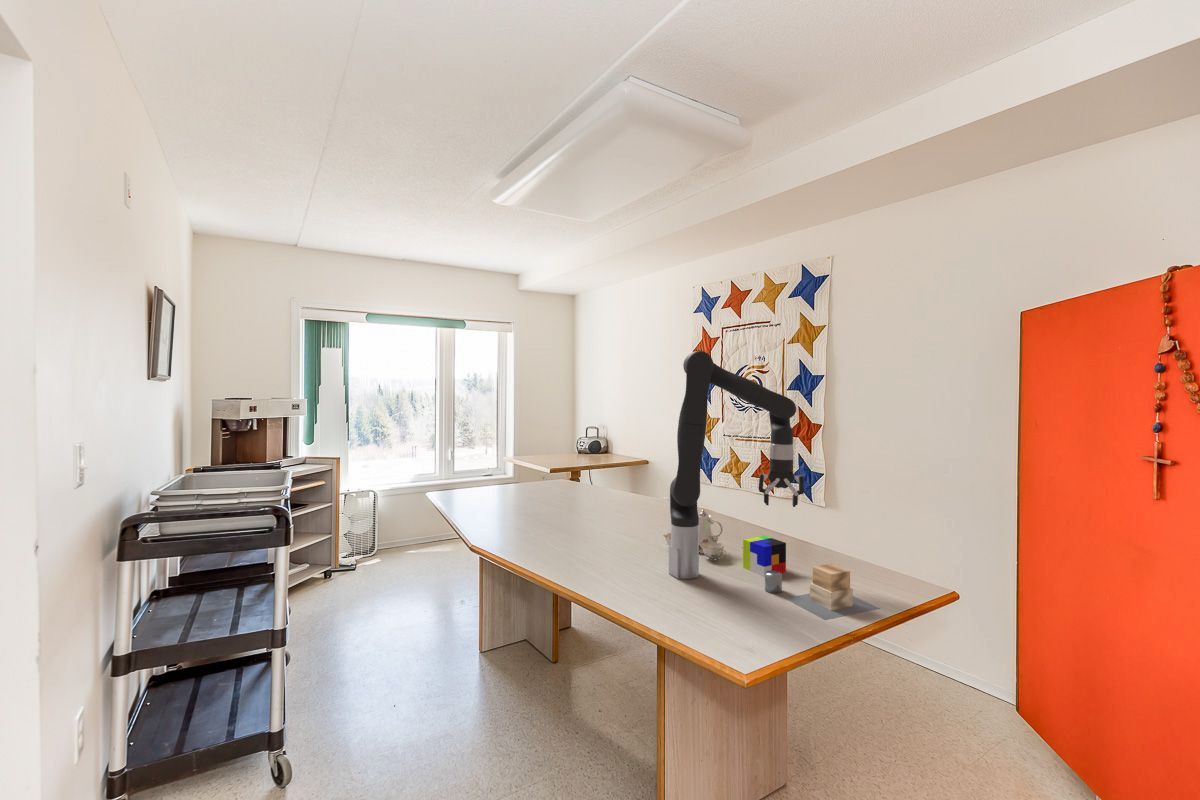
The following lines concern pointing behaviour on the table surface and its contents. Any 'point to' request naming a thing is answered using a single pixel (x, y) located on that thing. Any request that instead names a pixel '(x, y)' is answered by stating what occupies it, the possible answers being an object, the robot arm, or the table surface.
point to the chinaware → (706, 537)
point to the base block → (831, 597)
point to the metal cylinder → (773, 582)
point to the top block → (831, 577)
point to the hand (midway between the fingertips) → (780, 505)
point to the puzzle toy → (764, 555)
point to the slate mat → (828, 614)
